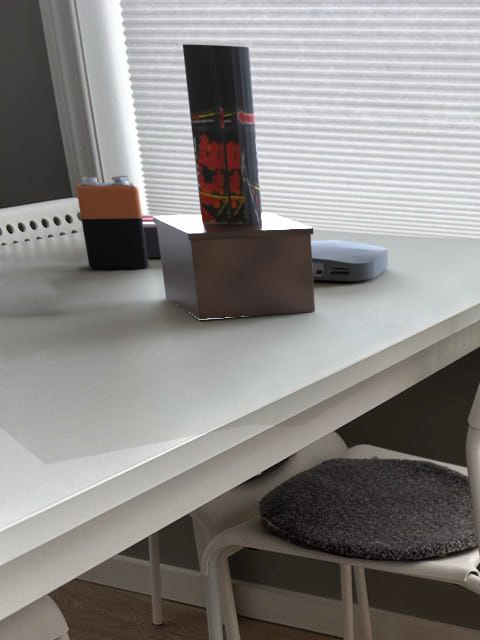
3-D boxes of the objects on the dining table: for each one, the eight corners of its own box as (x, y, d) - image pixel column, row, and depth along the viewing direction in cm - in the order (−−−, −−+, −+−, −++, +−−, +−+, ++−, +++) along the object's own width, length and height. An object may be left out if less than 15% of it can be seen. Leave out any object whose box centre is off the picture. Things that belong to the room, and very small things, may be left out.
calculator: (213, 212, 134) (214, 220, 122) (216, 245, 136) (218, 256, 124) (131, 212, 132) (124, 220, 119) (136, 246, 134) (129, 257, 121)
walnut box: (198, 321, 92) (188, 232, 88) (163, 298, 101) (152, 216, 97) (317, 311, 97) (313, 227, 93) (274, 290, 107) (268, 212, 102)
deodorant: (191, 220, 95) (171, 44, 88) (244, 217, 99) (230, 47, 91) (218, 227, 91) (200, 44, 84) (273, 223, 95) (260, 47, 87)
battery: (149, 269, 115) (136, 178, 110) (90, 270, 113) (74, 178, 108) (146, 263, 119) (134, 174, 114) (89, 264, 117) (73, 174, 112)
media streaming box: (393, 265, 123) (392, 240, 122) (371, 285, 111) (370, 258, 109) (283, 259, 124) (281, 235, 123) (249, 279, 112) (246, 252, 110)
